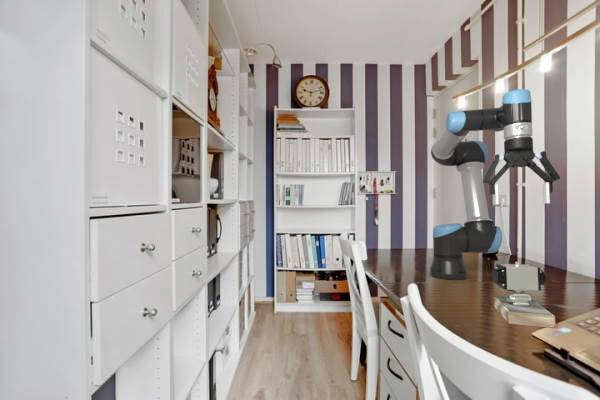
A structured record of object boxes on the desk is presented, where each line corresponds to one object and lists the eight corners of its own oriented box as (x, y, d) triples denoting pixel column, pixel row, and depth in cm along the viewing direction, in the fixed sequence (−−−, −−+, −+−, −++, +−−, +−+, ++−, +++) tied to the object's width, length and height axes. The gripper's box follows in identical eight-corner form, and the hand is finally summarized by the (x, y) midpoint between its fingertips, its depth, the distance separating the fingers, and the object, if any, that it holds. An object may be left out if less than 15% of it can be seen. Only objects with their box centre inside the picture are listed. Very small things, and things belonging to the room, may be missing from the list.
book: (494, 306, 91) (493, 296, 91) (533, 310, 88) (532, 298, 88) (508, 323, 78) (508, 311, 78) (555, 328, 75) (554, 315, 75)
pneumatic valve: (547, 308, 80) (546, 263, 80) (499, 306, 82) (497, 262, 82) (536, 302, 85) (534, 260, 85) (490, 300, 87) (489, 259, 88)
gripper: (476, 139, 97) (479, 204, 96) (572, 131, 88) (575, 202, 87) (472, 144, 104) (474, 204, 103) (559, 137, 95) (562, 203, 95)
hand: (520, 203), depth 95 cm, fingers open, 13 cm apart
